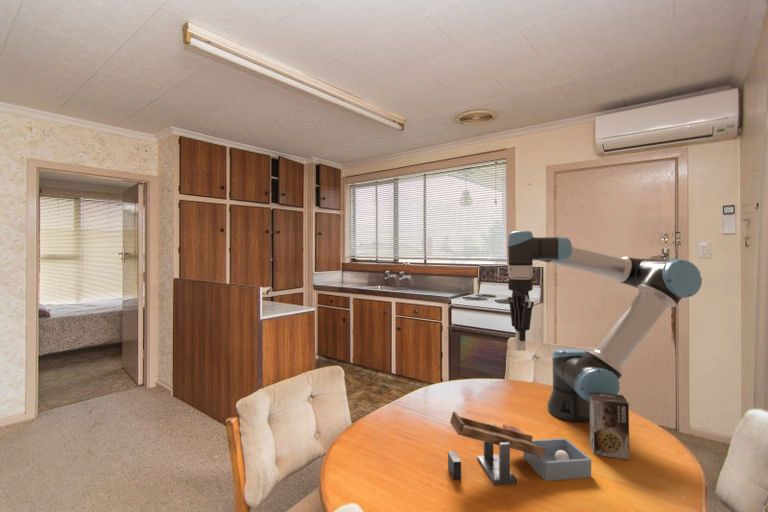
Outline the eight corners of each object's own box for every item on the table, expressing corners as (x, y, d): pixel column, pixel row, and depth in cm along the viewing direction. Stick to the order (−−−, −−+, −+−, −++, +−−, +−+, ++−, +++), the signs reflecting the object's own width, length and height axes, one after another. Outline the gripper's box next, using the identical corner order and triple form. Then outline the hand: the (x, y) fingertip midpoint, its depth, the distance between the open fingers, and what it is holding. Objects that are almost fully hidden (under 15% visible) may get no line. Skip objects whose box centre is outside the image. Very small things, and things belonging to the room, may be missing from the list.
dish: (565, 453, 108) (565, 437, 108) (592, 477, 97) (592, 459, 97) (522, 456, 107) (522, 440, 107) (544, 480, 95) (544, 463, 95)
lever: (517, 431, 112) (520, 421, 112) (544, 458, 97) (547, 447, 97) (443, 411, 109) (446, 401, 109) (458, 436, 94) (462, 424, 94)
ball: (565, 448, 104) (553, 446, 104) (573, 455, 101) (561, 453, 100) (562, 460, 104) (551, 459, 104) (570, 468, 101) (558, 466, 100)
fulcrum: (497, 457, 106) (497, 422, 106) (517, 483, 94) (517, 444, 94) (444, 461, 104) (444, 426, 104) (457, 488, 93) (457, 448, 92)
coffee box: (623, 449, 111) (623, 394, 110) (630, 460, 105) (630, 403, 104) (589, 444, 114) (589, 391, 113) (593, 454, 108) (593, 399, 107)
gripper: (500, 277, 128) (501, 345, 129) (518, 279, 116) (519, 355, 116) (521, 276, 129) (521, 344, 130) (541, 279, 116) (541, 355, 117)
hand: (520, 349), depth 123 cm, fingers closed
